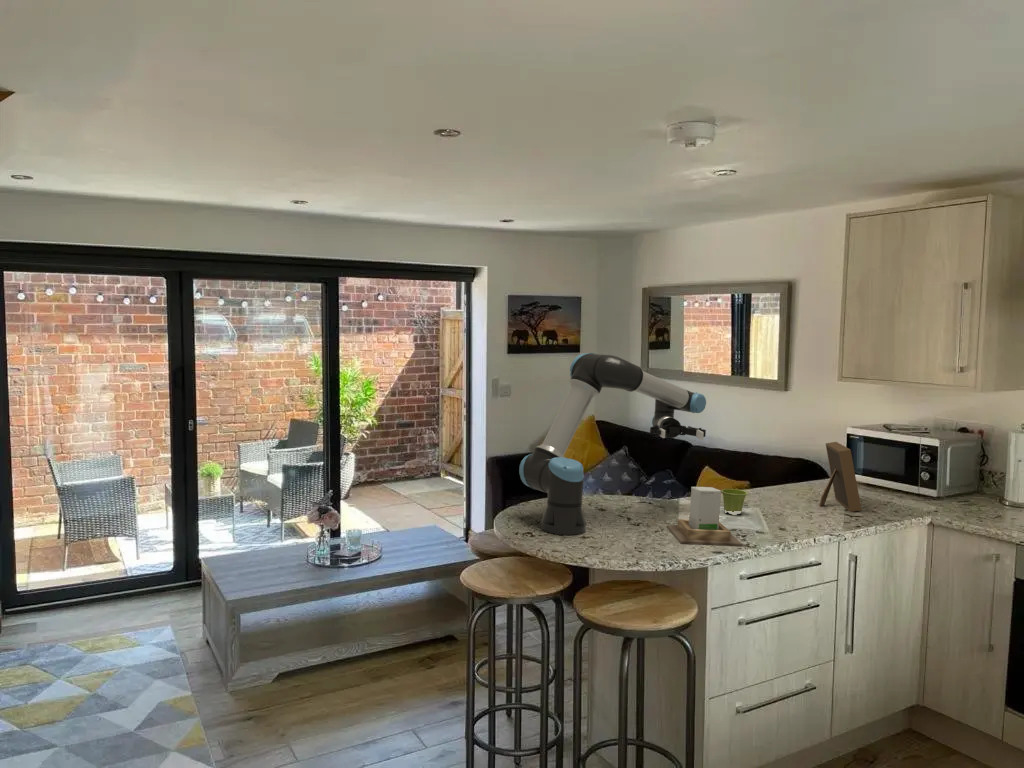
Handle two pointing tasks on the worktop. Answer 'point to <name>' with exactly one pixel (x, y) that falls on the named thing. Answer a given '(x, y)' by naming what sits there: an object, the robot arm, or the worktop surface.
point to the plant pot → (733, 499)
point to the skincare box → (704, 508)
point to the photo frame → (842, 477)
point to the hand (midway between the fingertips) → (683, 435)
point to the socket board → (702, 535)
